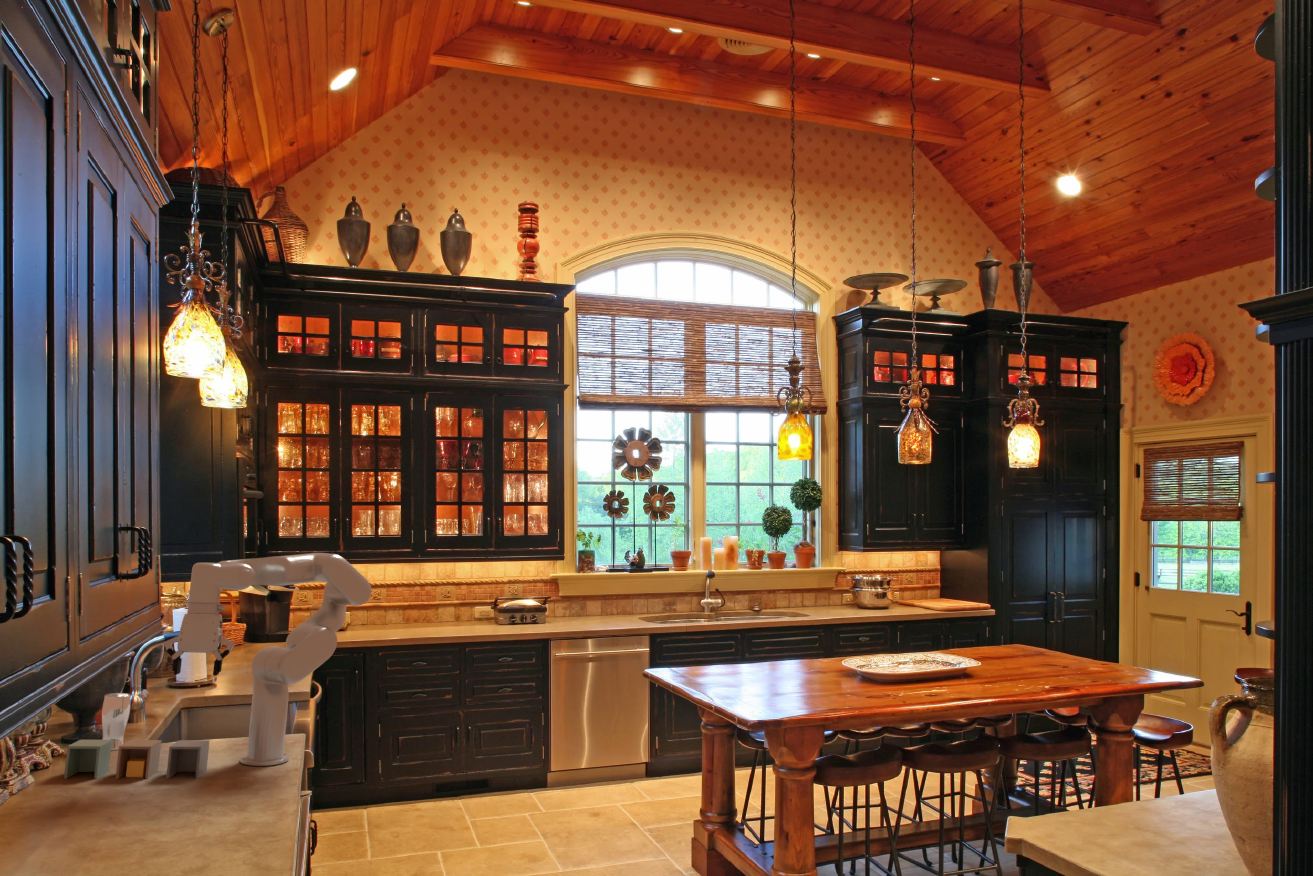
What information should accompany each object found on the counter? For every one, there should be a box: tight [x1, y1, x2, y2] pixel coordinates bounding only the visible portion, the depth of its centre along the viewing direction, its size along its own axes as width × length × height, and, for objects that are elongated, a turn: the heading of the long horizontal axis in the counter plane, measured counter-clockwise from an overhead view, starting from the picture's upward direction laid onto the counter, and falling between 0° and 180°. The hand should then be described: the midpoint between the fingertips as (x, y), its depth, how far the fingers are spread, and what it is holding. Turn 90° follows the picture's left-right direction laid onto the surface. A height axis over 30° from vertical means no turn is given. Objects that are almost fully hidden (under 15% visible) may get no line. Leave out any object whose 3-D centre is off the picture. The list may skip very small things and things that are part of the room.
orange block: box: [125, 758, 147, 778], centre depth 237 cm, size 4×4×4 cm
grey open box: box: [165, 739, 210, 780], centre depth 239 cm, size 8×8×8 cm
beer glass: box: [101, 692, 131, 751], centre depth 264 cm, size 7×7×15 cm
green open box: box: [63, 739, 112, 780], centre depth 235 cm, size 8×8×8 cm
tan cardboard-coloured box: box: [115, 739, 162, 780], centre depth 237 cm, size 8×8×8 cm
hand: (196, 674), depth 242 cm, fingers open, 9 cm apart
